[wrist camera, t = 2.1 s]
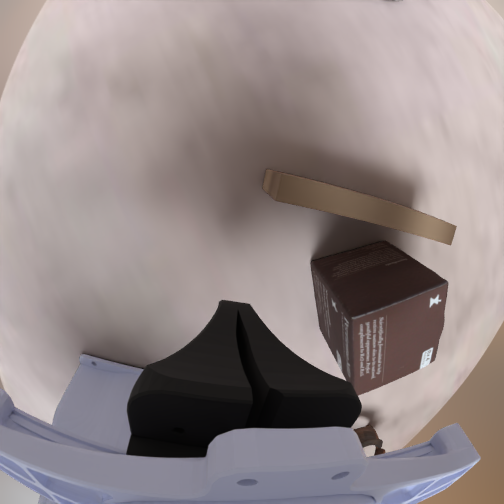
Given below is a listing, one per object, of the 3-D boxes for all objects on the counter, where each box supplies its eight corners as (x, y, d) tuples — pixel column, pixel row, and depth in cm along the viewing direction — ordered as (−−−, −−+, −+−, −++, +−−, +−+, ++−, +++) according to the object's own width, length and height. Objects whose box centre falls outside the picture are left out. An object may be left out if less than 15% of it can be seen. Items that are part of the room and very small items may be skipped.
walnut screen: (262, 188, 17) (275, 200, 12) (266, 168, 16) (281, 173, 12) (407, 224, 18) (451, 245, 14) (411, 208, 18) (456, 226, 13)
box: (308, 258, 19) (350, 316, 12) (386, 237, 19) (451, 279, 12) (319, 330, 21) (352, 399, 14) (387, 308, 21) (436, 363, 14)
